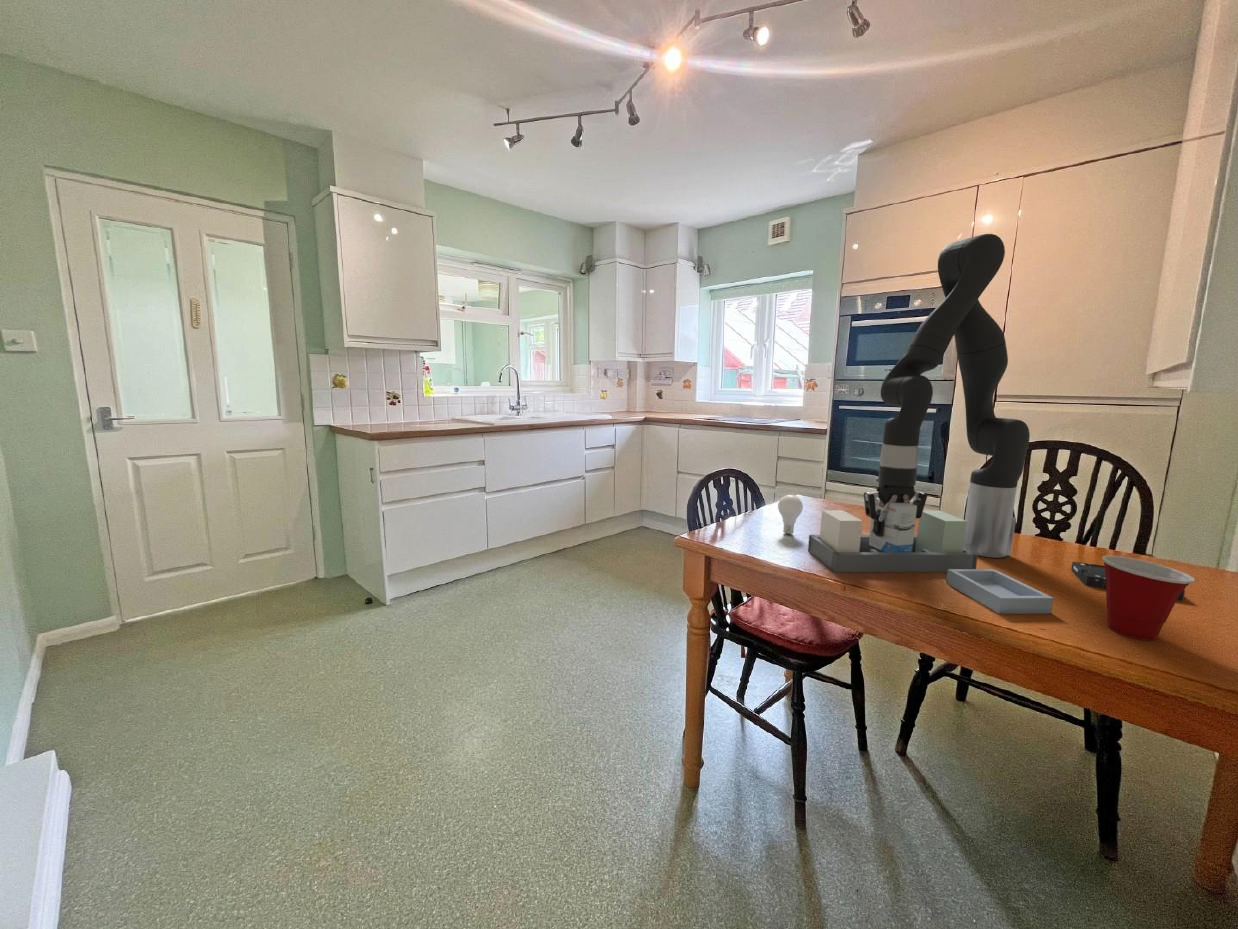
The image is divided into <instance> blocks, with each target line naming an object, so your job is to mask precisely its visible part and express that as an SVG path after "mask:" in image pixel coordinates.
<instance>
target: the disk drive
mask: <svg viewBox="0 0 1238 929" xmlns="http://www.w3.org/2000/svg"><path fill="white" fill-rule="evenodd" d="M1070 570H1072V571H1071V572H1072V573H1073V574H1074V575H1075V576H1076V578H1078V580H1079V581H1080V582H1081V583H1082V584H1083V583H1084V584H1083V585H1084V586H1086V587H1091V588H1093V587H1094V588H1096V589H1097V588H1098V589H1105V590H1106V577H1105V565H1100V564H1093V563H1086V562H1080V561H1072V563H1071V568H1070ZM1185 592H1186V589H1185V590H1183V591H1182V593H1181V595H1179V597H1178V599H1177V601H1181V602H1183V601H1184V598H1185Z"/></svg>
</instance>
